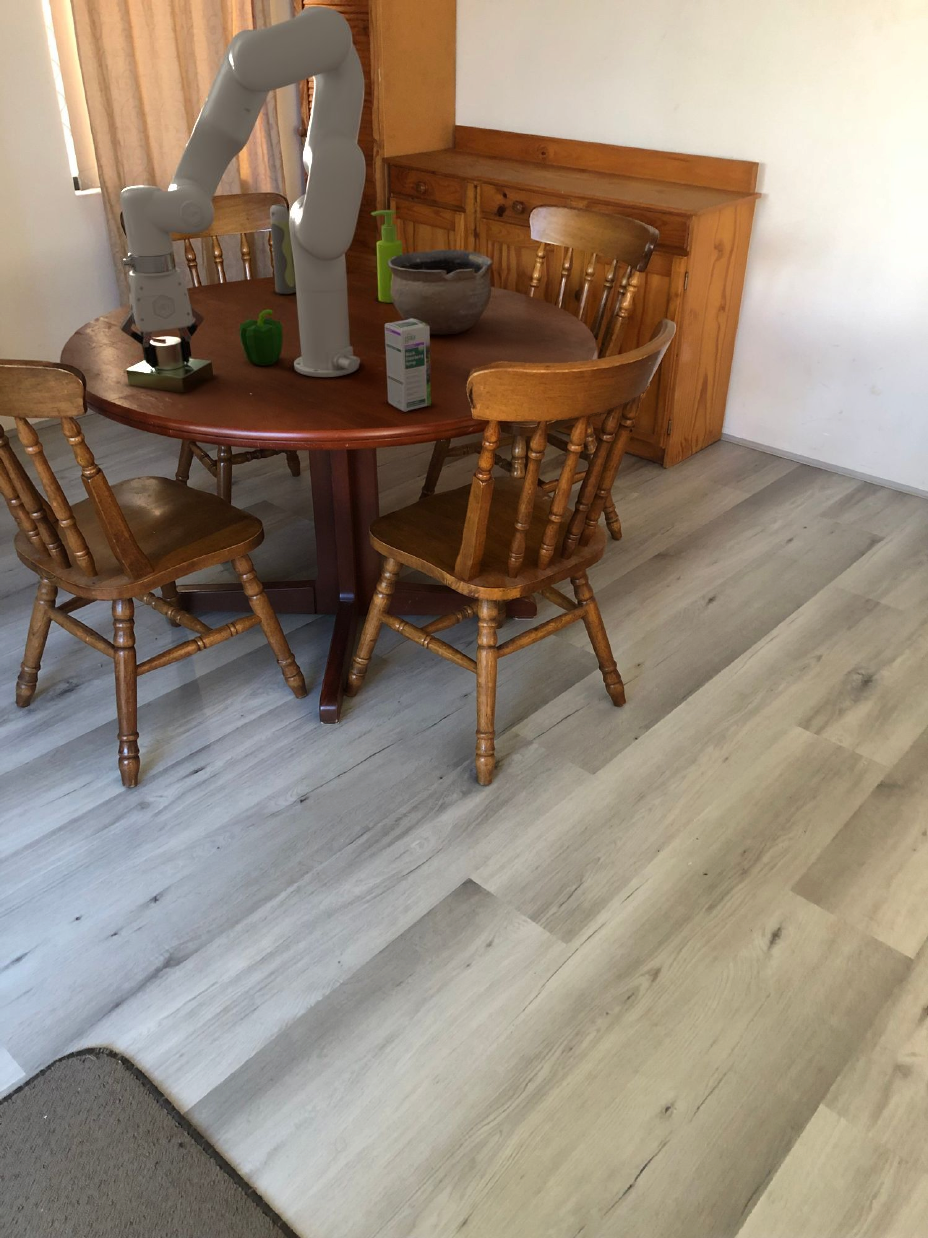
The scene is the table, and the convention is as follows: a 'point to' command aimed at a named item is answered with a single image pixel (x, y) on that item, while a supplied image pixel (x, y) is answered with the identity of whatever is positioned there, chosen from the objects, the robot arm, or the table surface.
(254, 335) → the bell pepper
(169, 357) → the dial
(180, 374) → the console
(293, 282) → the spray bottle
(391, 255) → the soap dispenser
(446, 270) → the ceramic bowl
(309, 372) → the robot arm
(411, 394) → the syrup box
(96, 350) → the table surface
